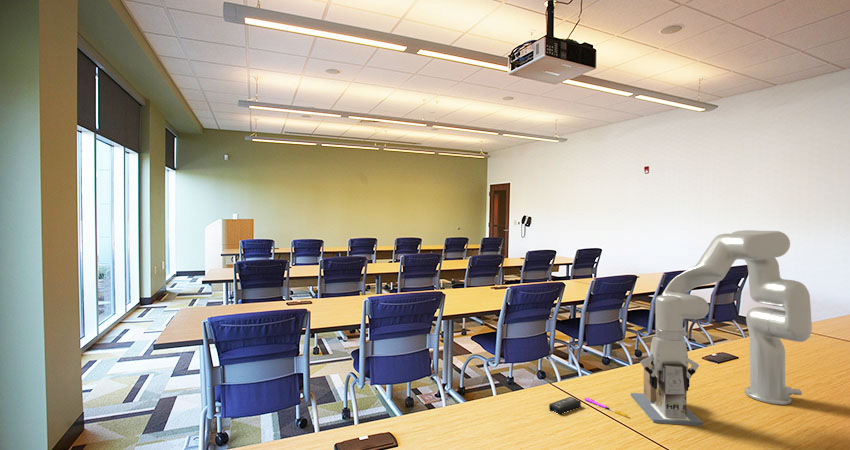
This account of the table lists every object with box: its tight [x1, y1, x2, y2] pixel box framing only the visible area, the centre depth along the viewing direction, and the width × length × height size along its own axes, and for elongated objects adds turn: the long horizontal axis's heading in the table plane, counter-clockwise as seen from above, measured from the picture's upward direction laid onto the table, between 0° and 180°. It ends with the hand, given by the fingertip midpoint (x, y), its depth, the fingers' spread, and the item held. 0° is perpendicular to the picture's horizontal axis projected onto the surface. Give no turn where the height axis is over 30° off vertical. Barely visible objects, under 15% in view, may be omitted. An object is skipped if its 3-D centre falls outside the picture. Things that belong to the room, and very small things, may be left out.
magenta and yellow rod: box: [584, 397, 631, 419], centre depth 135 cm, size 3×1×16 cm
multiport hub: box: [548, 396, 582, 415], centre depth 135 cm, size 4×11×2 cm, turn 122°
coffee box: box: [655, 364, 688, 419], centre depth 130 cm, size 9×6×16 cm
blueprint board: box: [630, 362, 704, 427], centre depth 134 cm, size 14×20×13 cm
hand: (669, 388), depth 130 cm, fingers open, 8 cm apart
